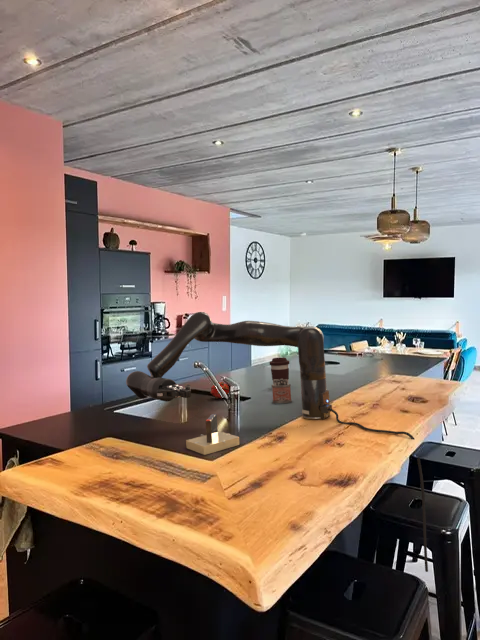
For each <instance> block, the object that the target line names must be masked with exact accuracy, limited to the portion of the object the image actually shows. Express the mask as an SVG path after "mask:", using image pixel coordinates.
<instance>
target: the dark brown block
mask: <svg viewBox="0 0 480 640" xmlns="http://www.w3.org/2000/svg"><path fill="white" fill-rule="evenodd" d="M218 432H219V429H218V415H217V413H211V414H210V416H209V417H208V418H207V419H206V420H205V435H206V436H207V443H212V442H213V441H214V439H215V438H216V436H217V435H218Z"/></svg>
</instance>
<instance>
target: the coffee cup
mask: <svg viewBox="0 0 480 640" xmlns="http://www.w3.org/2000/svg"><path fill="white" fill-rule="evenodd" d="M290 364H291V362H290V360H289V359H287V357H283V356H280V357H279V356H278V357H273V358H272V359H271V360H270V361H269V366H270V372H271V373H270V374H271V380H272V381H273V380H275V379H279V380H280V379H283V380H285V379H287V381H288V382H287V384H289V379H290V368H289V365H290ZM279 383H280V382H279ZM279 383H278V384H279ZM284 383H285V382H284ZM285 384H286V383H285ZM272 385H276V383H273V382H272Z"/></svg>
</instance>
